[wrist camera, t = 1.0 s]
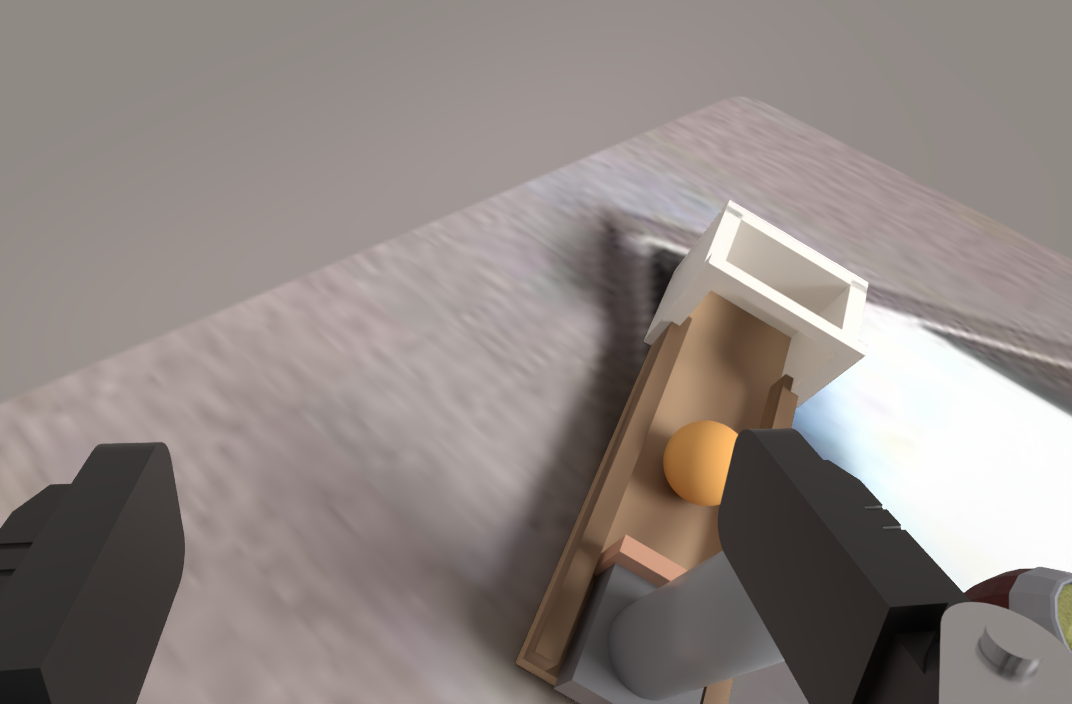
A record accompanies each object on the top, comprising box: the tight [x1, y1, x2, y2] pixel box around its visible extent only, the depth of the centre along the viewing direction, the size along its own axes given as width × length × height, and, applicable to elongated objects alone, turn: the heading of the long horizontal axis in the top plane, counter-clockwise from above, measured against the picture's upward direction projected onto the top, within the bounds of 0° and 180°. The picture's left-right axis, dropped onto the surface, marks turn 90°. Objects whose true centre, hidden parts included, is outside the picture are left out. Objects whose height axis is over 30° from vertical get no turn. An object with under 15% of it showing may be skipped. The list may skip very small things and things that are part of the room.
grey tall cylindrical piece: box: [553, 535, 785, 704], centre depth 25 cm, size 6×6×14 cm
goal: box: [644, 200, 868, 408], centre depth 41 cm, size 9×6×7 cm
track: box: [515, 291, 798, 704], centre depth 37 cm, size 8×26×2 cm, turn 156°
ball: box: [663, 421, 738, 506], centre depth 35 cm, size 4×4×4 cm
